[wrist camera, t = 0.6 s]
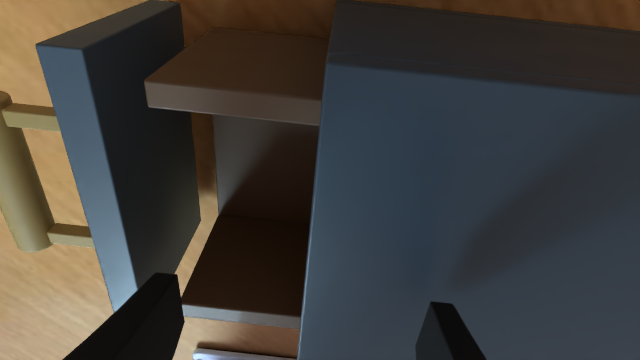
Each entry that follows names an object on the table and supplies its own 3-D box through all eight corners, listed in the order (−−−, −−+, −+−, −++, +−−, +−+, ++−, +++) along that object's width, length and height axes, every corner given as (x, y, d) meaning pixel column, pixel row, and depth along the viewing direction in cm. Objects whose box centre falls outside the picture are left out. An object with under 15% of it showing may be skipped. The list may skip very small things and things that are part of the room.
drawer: (101, 209, 21) (11, 313, 16) (43, -13, 16) (-136, 25, 10) (410, 244, 21) (432, 360, 16) (470, 33, 15) (541, 98, 10)
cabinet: (312, 230, 22) (295, 376, 15) (336, -2, 16) (325, 61, 9) (553, 257, 22) (649, 416, 15) (677, 35, 16) (952, 129, 9)
